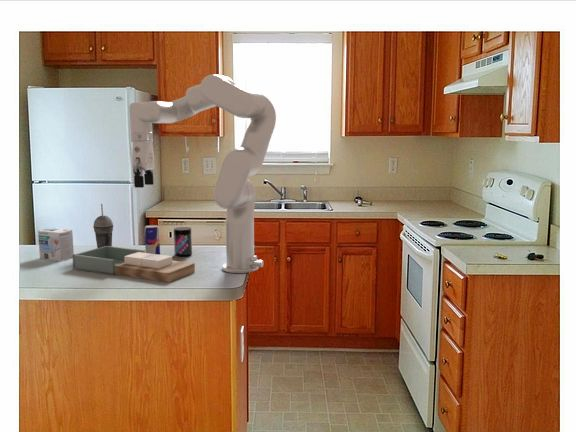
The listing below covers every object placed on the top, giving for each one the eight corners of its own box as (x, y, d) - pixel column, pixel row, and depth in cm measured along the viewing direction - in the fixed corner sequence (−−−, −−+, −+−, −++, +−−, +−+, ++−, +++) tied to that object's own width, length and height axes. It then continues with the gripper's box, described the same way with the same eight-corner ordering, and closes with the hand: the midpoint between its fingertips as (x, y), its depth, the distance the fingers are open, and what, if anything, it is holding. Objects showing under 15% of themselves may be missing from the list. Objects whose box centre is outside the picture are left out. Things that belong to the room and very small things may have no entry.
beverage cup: (96, 259, 196) (93, 205, 193) (93, 255, 202) (90, 203, 199) (116, 257, 199) (113, 204, 196) (113, 253, 206) (110, 202, 202)
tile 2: (172, 263, 178) (172, 256, 177) (159, 268, 172) (158, 260, 171) (155, 261, 181) (155, 254, 180) (142, 266, 174) (141, 258, 174)
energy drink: (151, 260, 195) (150, 228, 193) (142, 257, 198) (141, 226, 196) (163, 257, 199) (162, 226, 197) (154, 255, 202) (152, 224, 200)
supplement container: (171, 255, 202) (170, 228, 201) (186, 252, 207) (185, 226, 205) (180, 258, 198) (179, 230, 196) (195, 255, 202) (194, 228, 200)
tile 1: (154, 261, 181) (154, 254, 180) (141, 265, 175) (140, 258, 174) (138, 259, 184) (138, 252, 183) (124, 263, 178) (124, 256, 177)
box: (145, 264, 189) (144, 250, 188) (113, 275, 174) (112, 260, 174) (107, 258, 196) (106, 245, 196) (73, 269, 182) (72, 254, 181)
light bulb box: (39, 258, 197) (36, 230, 195) (53, 254, 203) (51, 227, 201) (61, 261, 193) (59, 232, 191) (74, 257, 199) (73, 229, 197)
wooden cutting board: (194, 271, 179) (194, 263, 178) (168, 282, 166) (168, 273, 166) (143, 264, 188) (143, 256, 187) (115, 274, 175) (114, 265, 175)
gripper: (143, 138, 178) (145, 188, 181) (160, 137, 195) (162, 183, 198) (121, 138, 179) (124, 188, 182) (140, 137, 196) (143, 183, 199)
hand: (144, 185), depth 190 cm, fingers open, 9 cm apart
